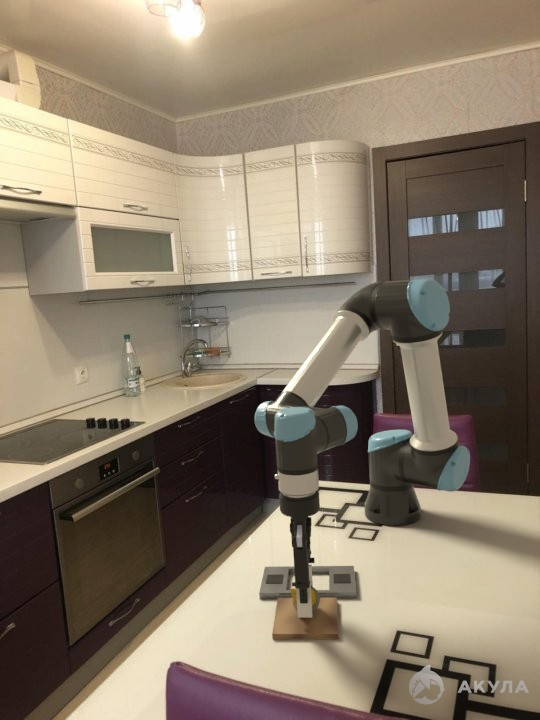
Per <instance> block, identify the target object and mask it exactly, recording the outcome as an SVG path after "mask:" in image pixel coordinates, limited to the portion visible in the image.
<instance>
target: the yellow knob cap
mask: <svg viewBox="0 0 540 720" xmlns="http://www.w3.org/2000/svg"><path fill="white" fill-rule="evenodd" d="M289 590H290V591H291V594H292V597H293V606H294V608H295V609H296V611H297V596H296V588H295V587H294V588H289ZM317 590H318V589H316V588H315V587H314V586H313V587H312V586H311V599H312V613H313V612H315V610H316V609H317V608H318V606H319V602H320V596H319V593H318V591H317Z"/></svg>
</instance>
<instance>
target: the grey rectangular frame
mask: <svg viewBox="0 0 540 720" xmlns="http://www.w3.org/2000/svg"><path fill="white" fill-rule="evenodd" d="M291 574H293V575H295V571H294V565H293V566H290V565H289V566H264V569H263V575H262V578H261V584H260V587H259V593H258V596H259V599H278V598H293V597H292V594H291V591H290V589H288V586H289V585H288V584H289V579H290V575H291ZM312 574H328V580H329V581H328V583H329V584H328V585H329V587H328V589H316V590H317V591H318V593H319V596H320V598H337V599H349V598H350V599H357V586H356V575H355V574H356V573H355V565H312Z"/></svg>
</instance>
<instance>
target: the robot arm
mask: <svg viewBox="0 0 540 720" xmlns="http://www.w3.org/2000/svg"><path fill="white" fill-rule="evenodd" d="M450 313H451V308H450V300H449V296H448V294H447V292H446V290H445V289H444V287H443V285H442V284H440V283H439V282H438V281H436V280H434V279H428V278H427V279H426V278H425V279H424V278H423V279H422V278H411V279H401V280H389V281H385V280H384V281H375V282H371V283H369V284H367V285H365V286H364V287H362V288H360V289H359V290H358V291H356V292H355V293H353V294H352V295H351V296H350V297H349V298H348V299H346V300H345V302H344V303H343V304H342V305H341V306H340V307H339V308H338V310H337V311H336V312H335V313H334V315H333V317H332V325H331V326H330V327H329V329H328V330H327V331H326V332H325V334H324V335H323V336H322V338H321V339H320V341H319V342H318V344H316V346H315V347H314V349H312V351H311V352H310V353H309V355H308V357H307V358H306V359H305V360H304V362H303V363H302V365H300V367H299V369H298V370H297V371H296V373H295V374H294V375H293V376H292V377H291V379H290V380H289V382H288V384H286V386H285V387H284V389H283V390H282V392H281V393H280V394H279V395H278V397H277V398H276V399H275V401H274V400H270V401H268V400H267V401H264V402H262V403H260V404H259V405H258V406H257V408H256V411H255V413H254V424H255V427H256V429H257V431H258V432H259V433H260V434H262V435H264V436H267V437H270V438H273V439H274V440H275V441H274V442H275V443H274V444H275V454H276V455H275V456H276V465H277V466H276V468H277V473H276V474H274V479H275V480H278V482H277V483H278V491H279V493H278V499H279V500H278V501H279V502H278V503H279V511H280V513H281V514H282V515H283V516H285V517H290V523H289V532H290V533H289V534H291V535H290V536H291V547H292V549H293V550H292V553H293V554H292V555H293V566H294V571H295V574H294V582H293V581H291V582H292V583H291V586H292V587H294V588H296V596H297V612H298V618H311V617H312V599H311V586H312V587H314V584H313V573H312V566H313V565H312V564H315V563H316V562H315V561H316V560H315V557H311V555H312V551H311V537H312V516H315V515H316V514H318V512H319V511H320V510H321V509H320V507H321V505H320V491H319V489H320V484H319V483H320V481H319V467H318V454H321V453H322V452H325V451H328V450H330V449H333V448H336V447H339V446H343V445H345V444H346V443H347V442H349V441H351V440H353V439H354V438H355V437H356V435H357V432H358V428H359V425H358V424H359V423H358V419H357V416H356V414H355V413H354V412H353V410H352V409H351V408H349V407H347V406H346V405H333V406H330V407H328V408H323V407H315V405H316V404H317V402H318V401H319V400H320V398H321V397H322V396H323V394H324V392H325V391H326V389H328V387H329V385H330V384H331V382H332V381H333V379H335V377H336V375H337V374H338V372H339V371H340V369H341V368H342V367H343V365H344V364H345V363H346V361H347V360H348V358H349V357H350V355H351V354H352V352H354V350H355V348H356V347H357V345H358V344H359V343H360V342H362V341H365V340H366V339H368V337H369V336H370V334H372V333H373V332H375V331H379V330H385V331H386V330H388V331H390V335H391V339H392V342H393V343H395V344H396V345H398V346H399V348H400V355H401V359H402V365H403V372H404V377H405V384H406V390H407V397H408V402H409V408H410V414H411V419H412V420H411V421H412V426H413V427H412V428H413V431H414V433H413V434H412V431H411V430H409V429H389V430H384V431H379V432H376V433H374V434H371V436H370V437H369V439H368V447H367V448H368V449H367V454H368V468H369V490H368V493H367V496H366V499H365V503H364V516H365V518H366V519H368V520H369V521H371V522H373V523H376V524H378V525H385V526H404V525H409V524H413V523H416V522H418V521H419V520H420V519H421V517H422V508H421V504H420V501H419V499H418V496H417V493H416V491H415V488H414V485H417V486H422V487H427V488H431V489H435V490H438V491H445V492H450V493H451V492H456V491H458V490H459V489H460V488H461V487H462V486H463V484H464V483H465V481H466V479H467V476H468V473H469V470H470V465H471V464H470V463H471V455H470V450H469V449H468V448H467V447H466V446H464V445H459V440H458V439H459V438H458V435H457V433H456V432H455V431H453V430H452V429H451V427H450V421H449V413H448V407H447V401H446V393H445V387H444V380H443V372H442V365H441V359H440V352H439V345H438V340H439V339H440V338H441V336H442V335H443V329H445V328H446V326H448V324H449V320H450V316H449V315H450Z"/></svg>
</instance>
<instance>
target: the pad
mask: <svg viewBox="0 0 540 720" xmlns="http://www.w3.org/2000/svg"><path fill="white" fill-rule="evenodd" d="M338 620H339V616H338V598H320V602H319V606H318V608H317V609H316V610H315V612H313V613H312V617H311V618H298V612H297V611H296V609H295V608H294V606H293V598H277V601H276V608H275V612H274V620H273V627H272V633H271V637H272V640H273V639H274V640H339V622H338Z"/></svg>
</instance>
